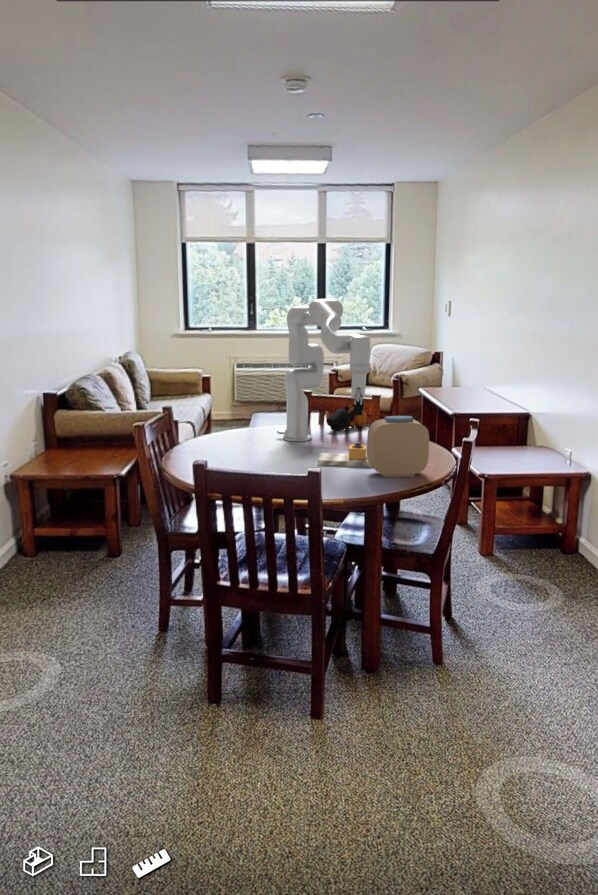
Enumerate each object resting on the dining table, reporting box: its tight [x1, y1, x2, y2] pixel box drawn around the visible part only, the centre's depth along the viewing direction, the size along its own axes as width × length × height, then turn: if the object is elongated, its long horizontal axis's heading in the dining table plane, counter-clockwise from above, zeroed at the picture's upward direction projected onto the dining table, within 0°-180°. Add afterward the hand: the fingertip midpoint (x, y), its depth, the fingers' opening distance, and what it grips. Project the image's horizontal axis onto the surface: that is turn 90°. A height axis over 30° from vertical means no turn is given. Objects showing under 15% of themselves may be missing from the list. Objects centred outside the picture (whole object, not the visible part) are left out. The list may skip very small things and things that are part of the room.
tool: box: [326, 403, 368, 432], centre depth 331 cm, size 8×23×15 cm, turn 133°
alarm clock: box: [366, 415, 430, 478], centre depth 250 cm, size 21×10×22 cm, turn 98°
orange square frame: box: [348, 444, 367, 459], centre depth 268 cm, size 6×6×4 cm
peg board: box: [317, 441, 373, 468], centre depth 268 cm, size 22×12×8 cm, turn 83°
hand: (358, 412), depth 264 cm, fingers open, 9 cm apart
